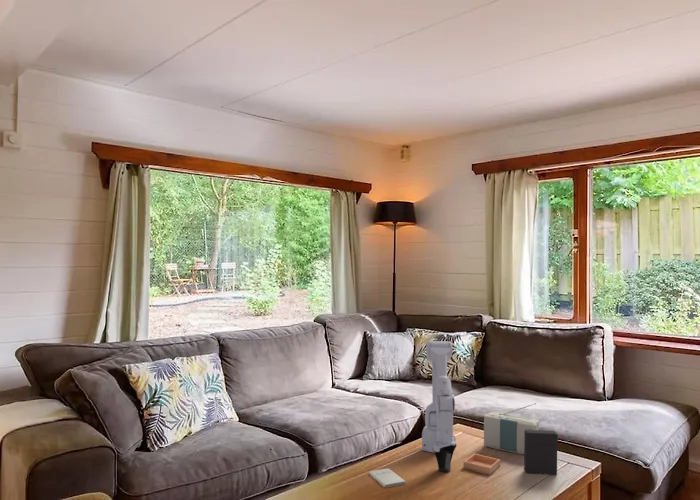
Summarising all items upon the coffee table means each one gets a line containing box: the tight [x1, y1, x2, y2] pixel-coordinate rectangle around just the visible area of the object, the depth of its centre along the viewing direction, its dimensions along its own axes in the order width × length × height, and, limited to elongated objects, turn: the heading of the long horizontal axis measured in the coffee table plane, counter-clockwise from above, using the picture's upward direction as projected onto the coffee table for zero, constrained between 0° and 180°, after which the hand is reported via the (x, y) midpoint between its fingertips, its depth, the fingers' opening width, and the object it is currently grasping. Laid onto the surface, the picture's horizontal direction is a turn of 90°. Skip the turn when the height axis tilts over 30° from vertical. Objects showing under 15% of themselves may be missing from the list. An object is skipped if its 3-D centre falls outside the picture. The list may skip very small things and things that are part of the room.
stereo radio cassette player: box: [483, 402, 540, 456], centre depth 221 cm, size 21×8×20 cm, turn 55°
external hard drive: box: [368, 468, 407, 488], centre depth 192 cm, size 2×8×12 cm
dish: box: [463, 453, 501, 476], centre depth 203 cm, size 10×10×2 cm
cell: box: [437, 452, 452, 474], centre depth 200 cm, size 4×4×7 cm
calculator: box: [523, 429, 559, 476], centre depth 199 cm, size 11×4×15 cm, turn 84°
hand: (444, 465), depth 200 cm, fingers closed on cell, 4 cm apart
